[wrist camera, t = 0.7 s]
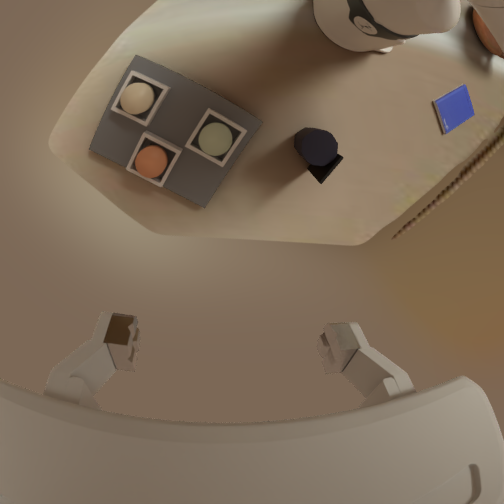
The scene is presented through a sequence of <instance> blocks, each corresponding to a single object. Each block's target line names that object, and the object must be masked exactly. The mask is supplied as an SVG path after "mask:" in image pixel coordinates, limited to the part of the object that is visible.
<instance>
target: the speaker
mask: <svg viewBox="0 0 504 504" xmlns="http://www.w3.org/2000/svg"><path fill="white" fill-rule="evenodd" d="M294 147H295V149H296V150H297V152H298V153H299V155H300V156H302V157H303V158H304V159H305V160H306V161H307V162H309V163H310V164H311V165H310V166H309V167H308V168H307V169H308V170H309V171H310V173H311V174H312V175H313V176H314V177H315V178H316V179H317V180H318V182H319V183H320V184H322V183H323V182H324V180H325V179H326V178H327V177H328V176H329V175H330V173H331V172H332V171H333V170H334V169H335V168H336V166H337V165H338V164H339V163H340V162H341V160H342V159H343V157H342V156H341V155H339V154H337V149H338V143H337V142H336V140H335V138H334V137H333V135H332V134H331V133H329V132H328V131H325V130H321V129H316V128H304V129H302V130H301V131H299V132H297V134H296V135H295V139H294Z"/></svg>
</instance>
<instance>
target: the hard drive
mask: <svg viewBox="0 0 504 504" xmlns="http://www.w3.org/2000/svg"><path fill="white" fill-rule="evenodd" d="M433 103H434V106H435V109H436V112H437V114H438V117H439V120H440V124H441V127H442V130H443V133H444V134H447V133H448V132H450V131H451V130H453V129H454V128H456V127H457V126H459V125H460V124H462V123H463V122H465V121H466V120H468V119H469V118H470V117H472V116H473V115H474V111H473V107H472V103H471V100H470V97H469V93H468V90H467V87H466V85H465V84H462V85H460V86H458V87H456V88H454V89H453V90H451V91H449V92H447V93H446V94H444V95H442V96H440V97H439V98H437V99H435V100H433Z"/></svg>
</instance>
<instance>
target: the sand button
mask: <svg viewBox="0 0 504 504" xmlns="http://www.w3.org/2000/svg"><path fill="white" fill-rule="evenodd" d="M154 99H155V93H154V90H153V89H152V87H151V86H150V85H148V84H146V83H133V84H130V85H129V86H127V87H126V88H125V89H124V91H123V92H122V94H121V98H120V102H121V106H122V108H123V109H124V110H125V111H126V112H127V113H129V114H139V113H142V112H145V111H147V110H148V109H149V108H150V107H151V106H152V105H153V103H154Z"/></svg>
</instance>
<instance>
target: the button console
mask: <svg viewBox="0 0 504 504" xmlns="http://www.w3.org/2000/svg"><path fill="white" fill-rule="evenodd" d="M133 83H146V84H148V85H150V86H151V87H152V89H153V90H154V93H155V99H154V103H153V105H152V106H151V107H150V108H149V109H148V110H147V111H145V112H142V113H139V114H129V113H127V112H126V111H125V110H124V109H123V108H122V106H121V102H120V98H121V94H122V92H123V91H124V89H125V88H126V87H127V86H129V85H130V84H133ZM213 122H219V123H222V124H224V125H226V126H227V127H228V128H229V129H230V131H231V134H232V144H231V147H230V148H229V150H228V151H227V152H225V153H224V154H221V155H218V156H212V155H209V154H207V153H205V152H204V151H203V150H202V149H201V147H200V145H199V135H200V133H201V131H202V129H203V128H204V127H205V126H206V125H208V124H210V123H213ZM261 124H262V121H261V120H259V119H258V118H256V117H254V116H253V115H251V114H250V113H248V112H246V111H245V110H243V109H241V108H240V107H238V106H237V105H235V104H233V103H231V102H230V101H228V100H226V99H225V98H223V97H221V96H219V95H218V94H216V93H214V92H212V91H210V90H209V89H207V88H205V87H203V86H201V85H199V84H197V83H195V82H194V81H192V80H190V79H188V78H186V77H184V76H182V75H180V74H178V73H176V72H174V71H171V70H169V69H167V68H165V67H163V66H161V65H159V64H156V63H154V62H152V61H150V60H147V59H145V58H143V57H140V56H138V55H135V57H134V58H133V60H132V62H131V63H130V65H129V67H128V68H127V70H126V72H125V74H124V75H123V77H122V79H121V81H120V83H119V85H118V86H117V88H116V90H115V92H114V94H113V96H112V98H111V100H110V102H109V104H108V106H107V108H106V110H105V112H104V115H103V117H102V119H101V121H100V123H99V126H98V128H97V130H96V133H95V135H94V138H93V140H92V143H91V145H90V148H89V150H91V151H93V152H95V153H97V154H99V155H101V156H103V157H105V158H107V159H109V160H111V161H114V162H116V163H117V164H119V165H121V166H123V167H125V168H126V170H127V171H129V172H131V173H133V174H135V175H137V176H139V177H141V178H143V179H145V180H147V181H149V182H151V183H153V184H155V185H157V186H159V187H161V188H162V186H163V187H165V188H167V189H169V190H171V191H173V192H175V193H176V194H178V195H180V196H182V197H184V198H186V199H188V200H190V201H192V202H194V203H196V204H198V205H200V206H201V207H203V208H205V207H206V205H207V204H208V202H209V201H210V199H211V197H212V196H213V194H214V193H215V191H216V190H217V188H218V187H219V185H220V183H221V182H222V180H223V179H224V177H225V176H226V174H227V173H228V171H229V170H230V168H231V167H232V165H233V164H234V162H235V161H236V159H237V158H238V156H239V155H240V153H241V152H242V151H243V149H244V148H245V146H246V145H247V143H248V142H249V140H250V139H251V138H252V136H253V135H254V133H255V132H256V131H257V129H258V128H259V126H260V125H261ZM149 145H158V146H160V147H162V148H163V149H164V150H165V151H166V153H167V156H168V163H167V166H166V168H165V169H164V171H163V172H162V173H161V174H160V175H159V176H157V177H154V178H146V177H144V176H142V175H141V174H140V173H139V172H138V171H137V169H136V166H135V160H136V157H137V155H138V153H139V152H140V151H141V150H142V149H144V148H145V147H147V146H149Z"/></svg>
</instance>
